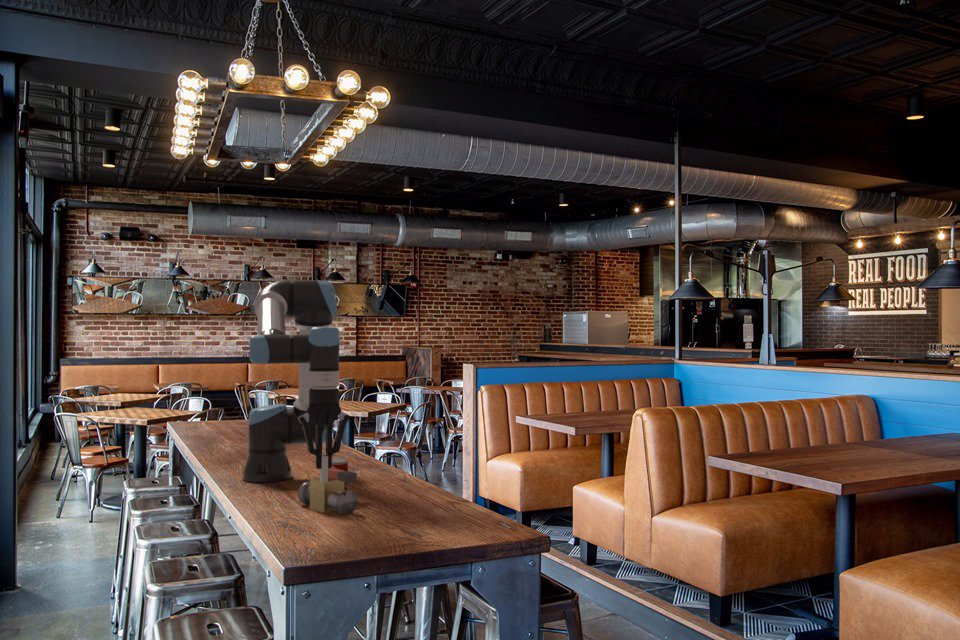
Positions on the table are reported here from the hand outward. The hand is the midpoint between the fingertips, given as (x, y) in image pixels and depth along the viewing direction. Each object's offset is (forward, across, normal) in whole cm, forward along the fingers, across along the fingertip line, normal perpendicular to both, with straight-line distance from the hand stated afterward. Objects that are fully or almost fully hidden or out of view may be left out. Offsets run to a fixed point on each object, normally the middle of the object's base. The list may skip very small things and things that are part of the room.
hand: (323, 481), depth 187 cm
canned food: (+9, +7, +20) cm, 23 cm away
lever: (0, +4, +4) cm, 6 cm away
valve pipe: (+9, +3, +9) cm, 13 cm away
